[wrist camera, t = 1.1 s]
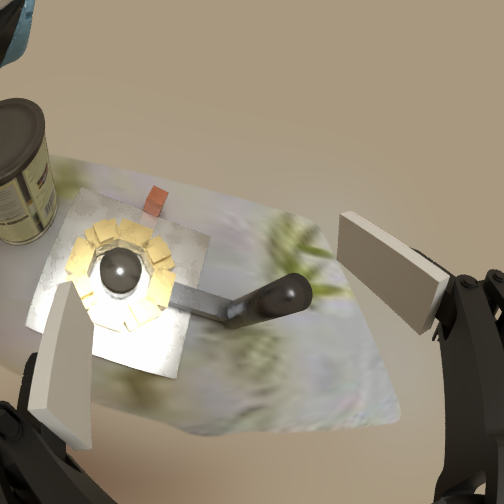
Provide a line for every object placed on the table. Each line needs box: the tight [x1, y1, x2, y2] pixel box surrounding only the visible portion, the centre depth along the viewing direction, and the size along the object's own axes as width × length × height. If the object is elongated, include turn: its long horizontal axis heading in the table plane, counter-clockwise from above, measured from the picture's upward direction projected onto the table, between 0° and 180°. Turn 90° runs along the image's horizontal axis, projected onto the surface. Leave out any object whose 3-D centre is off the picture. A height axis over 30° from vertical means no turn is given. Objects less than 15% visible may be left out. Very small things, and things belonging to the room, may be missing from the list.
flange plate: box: [25, 186, 210, 379], centre depth 29 cm, size 18×20×6 cm
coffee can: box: [0, 98, 58, 245], centre depth 22 cm, size 10×10×14 cm
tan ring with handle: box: [65, 218, 312, 333], centre depth 26 cm, size 21×12×13 cm, turn 79°
